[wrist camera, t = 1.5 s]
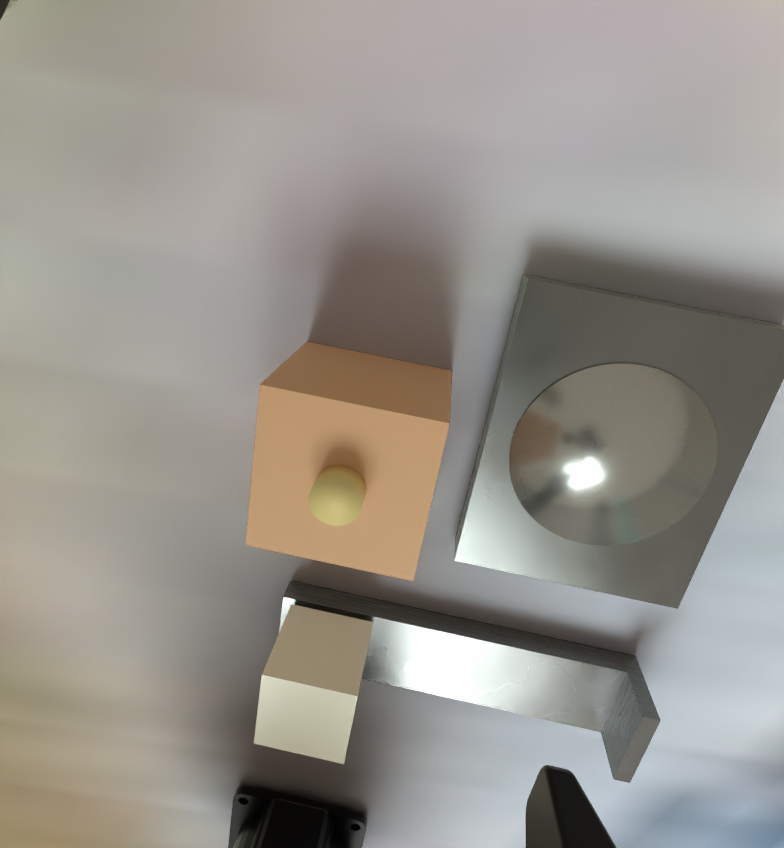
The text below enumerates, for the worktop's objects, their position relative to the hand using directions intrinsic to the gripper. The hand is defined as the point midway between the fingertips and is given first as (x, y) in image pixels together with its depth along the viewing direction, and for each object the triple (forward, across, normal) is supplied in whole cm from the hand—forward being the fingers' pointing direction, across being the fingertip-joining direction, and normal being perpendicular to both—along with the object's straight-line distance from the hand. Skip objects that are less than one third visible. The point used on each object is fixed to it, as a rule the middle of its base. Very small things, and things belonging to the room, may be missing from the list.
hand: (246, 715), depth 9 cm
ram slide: (+11, 0, +9) cm, 14 cm away
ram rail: (+12, -5, +10) cm, 16 cm away
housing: (+12, 0, 0) cm, 13 cm away
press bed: (+12, -8, 0) cm, 15 cm away
